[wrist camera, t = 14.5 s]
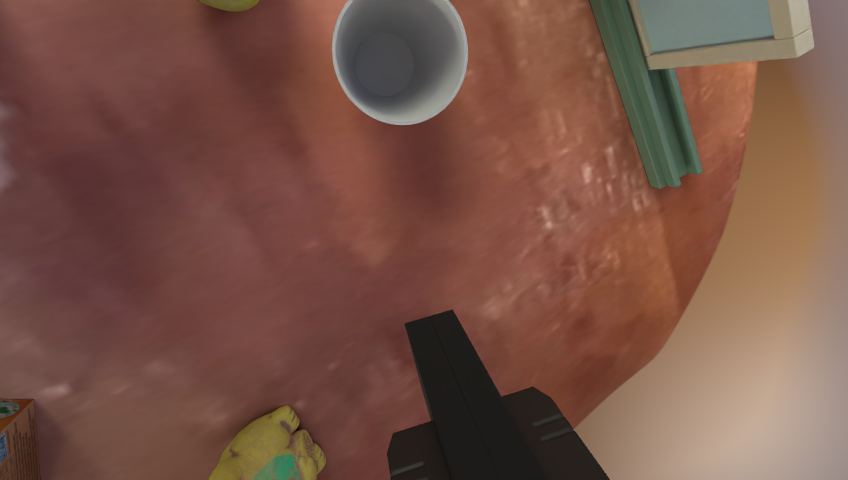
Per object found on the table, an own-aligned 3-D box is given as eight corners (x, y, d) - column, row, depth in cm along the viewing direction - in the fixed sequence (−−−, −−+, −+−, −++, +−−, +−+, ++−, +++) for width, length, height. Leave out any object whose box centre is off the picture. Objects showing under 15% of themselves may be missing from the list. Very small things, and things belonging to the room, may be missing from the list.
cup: (453, 60, 36) (494, 48, 27) (390, 137, 37) (410, 152, 28) (376, -16, 33) (393, -59, 24) (311, 70, 34) (303, 60, 25)
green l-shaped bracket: (551, -113, 34) (745, -299, 18) (600, -141, 34) (837, -352, 18) (650, 186, 43) (832, 238, 28) (688, 164, 43) (891, 203, 28)
